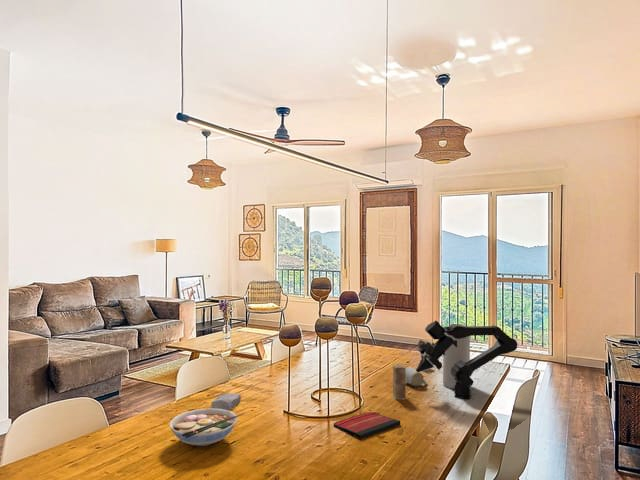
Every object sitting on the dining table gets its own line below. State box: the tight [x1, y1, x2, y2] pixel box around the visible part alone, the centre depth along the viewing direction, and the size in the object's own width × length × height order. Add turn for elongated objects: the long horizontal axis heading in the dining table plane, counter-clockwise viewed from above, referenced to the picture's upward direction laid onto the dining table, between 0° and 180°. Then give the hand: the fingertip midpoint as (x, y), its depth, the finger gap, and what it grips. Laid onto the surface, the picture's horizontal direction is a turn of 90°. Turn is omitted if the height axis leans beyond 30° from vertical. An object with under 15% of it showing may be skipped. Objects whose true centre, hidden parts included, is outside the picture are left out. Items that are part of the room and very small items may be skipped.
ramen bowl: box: [169, 407, 244, 447], centre depth 155 cm, size 25×23×8 cm
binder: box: [333, 411, 401, 441], centre depth 170 cm, size 16×2×21 cm
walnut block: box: [392, 364, 407, 400], centre depth 201 cm, size 4×4×14 cm
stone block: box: [210, 392, 242, 411], centre depth 191 cm, size 12×5×10 cm
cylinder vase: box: [442, 333, 471, 390], centre depth 219 cm, size 12×12×25 cm
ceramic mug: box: [406, 366, 427, 388], centre depth 221 cm, size 11×8×8 cm
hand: (416, 371), depth 202 cm, fingers closed
